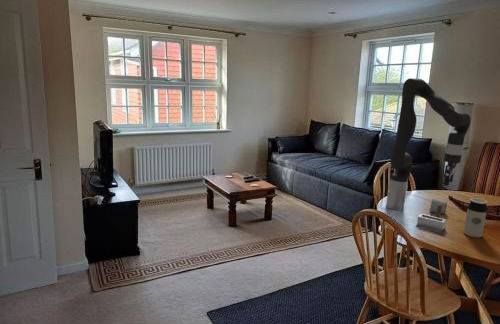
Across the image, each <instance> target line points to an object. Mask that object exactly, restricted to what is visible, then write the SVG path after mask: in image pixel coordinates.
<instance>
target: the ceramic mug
mask: <svg viewBox="0 0 500 324" xmlns="http://www.w3.org/2000/svg"><path fill="white" fill-rule="evenodd" d="M447 204H448V203H447V202H445V201H444V200H439V199H435V198H432V199H431V202H430V207H429V212H430V213H433V214H437V208H438V205H442V209H441V215H444V214H446V210H447V207H448V205H447Z"/></svg>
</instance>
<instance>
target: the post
mask: <svg viewBox="0 0 500 324" xmlns="http://www.w3.org/2000/svg"><path fill="white" fill-rule="evenodd" d="M441 209H442V205H438V208H437V213H435V217H438V218H441V215H442V214H441Z"/></svg>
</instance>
